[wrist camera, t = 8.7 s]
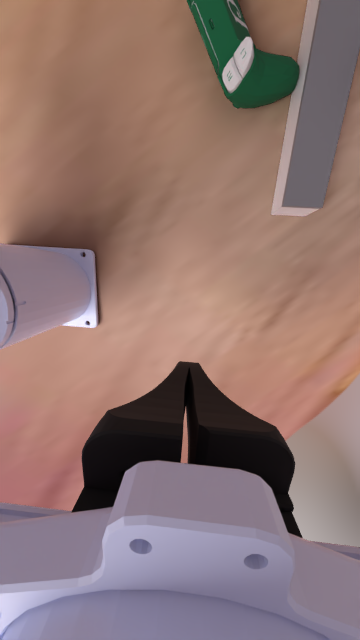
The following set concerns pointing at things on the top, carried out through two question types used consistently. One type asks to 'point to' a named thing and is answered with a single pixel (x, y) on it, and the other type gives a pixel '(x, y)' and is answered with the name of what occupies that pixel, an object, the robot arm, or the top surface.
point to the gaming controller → (241, 56)
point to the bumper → (317, 105)
